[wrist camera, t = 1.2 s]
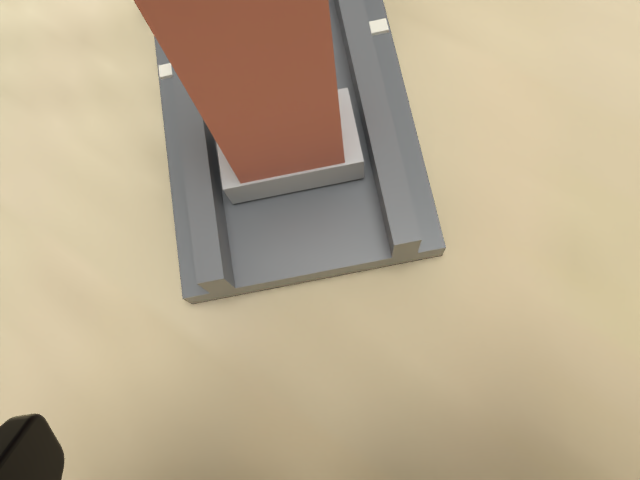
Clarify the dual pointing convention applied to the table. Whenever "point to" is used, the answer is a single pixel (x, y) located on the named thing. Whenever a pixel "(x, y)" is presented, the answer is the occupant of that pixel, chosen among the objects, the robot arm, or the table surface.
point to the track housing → (311, 204)
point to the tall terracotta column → (263, 90)
